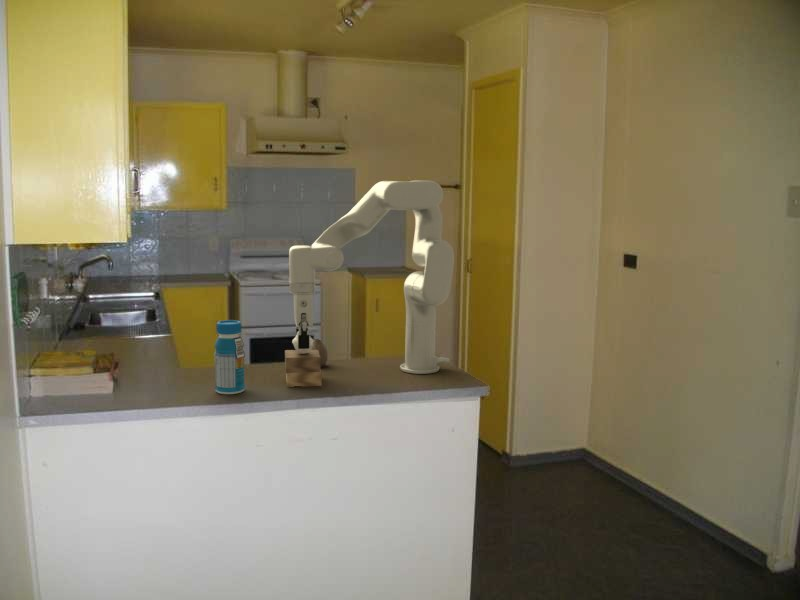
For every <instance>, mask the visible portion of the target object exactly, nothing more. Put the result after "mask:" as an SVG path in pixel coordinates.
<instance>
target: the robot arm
mask: <svg viewBox="0 0 800 600" xmlns="http://www.w3.org/2000/svg"><path fill="white" fill-rule="evenodd" d="M443 199H444V191H443V188H442V186H441V185H440V184H439V183H438V182H437V181H433V180H422V179H421V180H420V179H417V180H416V179H415V180H414V179H413V180H410V181H405V180H404V181H399V180H396V181H395V180H382V181H378V182H376V183H375V184H374V185H373V186H372V187H371V188H370V189H369V190H368V191H367V193H365V194H364V195H363V197H361V199H360V200H358V202H357V203H356V204H355V205H354V206H353V207H352V208H351V210H350V211H348V213H346V214H345V215H343V216H342V217H341V218H339V219H338V220H337V221H336V222H334V223H333V224H332V225H330V226H329V227H328V228H327V229H326V230H324V231H323V232H322V234H320V236H319V237H318V238H317V239H316V240H314V242H313V243H312V244H311V245H303V244H298V245H293V246H291V247H290V248H289V250H288V253H289V255H288V260H289V262H288V263H289V264H288V265H289V266H288V267H289V272H288V273H289V276H288V277H289V284H288V285H289V294H290V295H291V294H293V317H294V323H295V326H296V328H295V336H296V335H297V332H298V331H299V335H298V348H299V349H309V335H310V332H309V327H310V328H313V327H314V316H313V315H314V313H313V311H314V310H313V309H314V307H313V305H314V304H313V295H312V294H315V293H316V270H318V271H320V270H321V271H327V272H332V271H335V270H337V269H339V268H340V267H342V265H343V263H344V259H345V258H344V254H343V253H344V252H343V251H342V250H341V249H342V248H343V247H344V246H345V245H347V244H348V243H350V242H351V241H354V240H356V239H358V238H361V237H363V236H365V235H367V234H369V233H370V232H371V231H373V229H374V228H375V227H376V226H377V224H379V222H380V221H381V220H382V219H383V218H384V217H385V216H386V215H387V213H389V212H390V211H391V210H392V211H393V210H394V211H412V212H413V215H414V219H415V220H414V221H415V223H414V225H415V226H414V235H413V236H414V237H413V242H412V250H411V251H412V252H411V258H412V260H413V262H414V264H416V265H417V266H419V267H421V268H424V271H422V270H418V271H413V272H411V273H410V274H408V276H407V277H406V279H405V280H404V283H403V294H404V302H405V336H404V337H405V341H404V343H405V346H404V348H405V349H404V362H403V363H401V364H400V365H399V369H400V370H401V371H402V372H404V373H409V374H415V375H425V374H426V375H427V374H432V373H433V374H435V373H437V372H438V371H440V365H441V364H444V365H449V364H450V358H449V357H444V356H439V357H438V356H437V355H436V353H435V352H436V327H437V325H436V324H437V323H436V322H437V316H436V315H437V311H436V307H437V306H440V305H442V304H444V303H445V302H446V301H447V299H448V298H449V295H450V292H451V287H452V279H453V272H454V265H455V254H454V249H453V247H452V246H451V244H450V243H449V242H448V241H446V240H444V239H442V235H443V220H444V219H443V213H442V211H441V208H440V204H442V201H443Z"/></svg>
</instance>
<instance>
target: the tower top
mask: <svg viewBox="0 0 800 600" xmlns="http://www.w3.org/2000/svg"><path fill="white" fill-rule="evenodd" d="M284 368H285V374H286V373H305V372H320V369H321V367H320V354H319V351H318V350H310V351H309V353H307V354H299V353H297V351H296V349H286V350H284Z"/></svg>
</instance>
